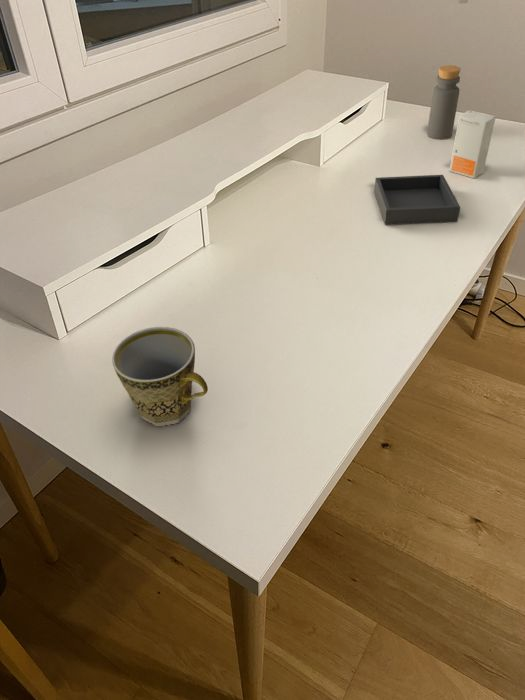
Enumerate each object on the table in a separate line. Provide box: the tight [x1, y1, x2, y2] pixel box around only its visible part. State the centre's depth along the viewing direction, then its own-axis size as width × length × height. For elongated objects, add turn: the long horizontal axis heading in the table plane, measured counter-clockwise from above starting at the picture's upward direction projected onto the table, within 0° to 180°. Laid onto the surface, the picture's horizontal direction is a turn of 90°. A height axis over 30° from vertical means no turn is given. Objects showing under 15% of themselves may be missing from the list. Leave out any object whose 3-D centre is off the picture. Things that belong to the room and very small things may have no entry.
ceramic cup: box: [111, 326, 209, 427], centre depth 73 cm, size 13×10×10 cm
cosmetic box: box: [449, 109, 496, 180], centre depth 121 cm, size 6×4×12 cm
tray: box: [374, 174, 461, 226], centre depth 114 cm, size 14×14×3 cm
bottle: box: [426, 64, 461, 140], centre depth 136 cm, size 6×6×15 cm
